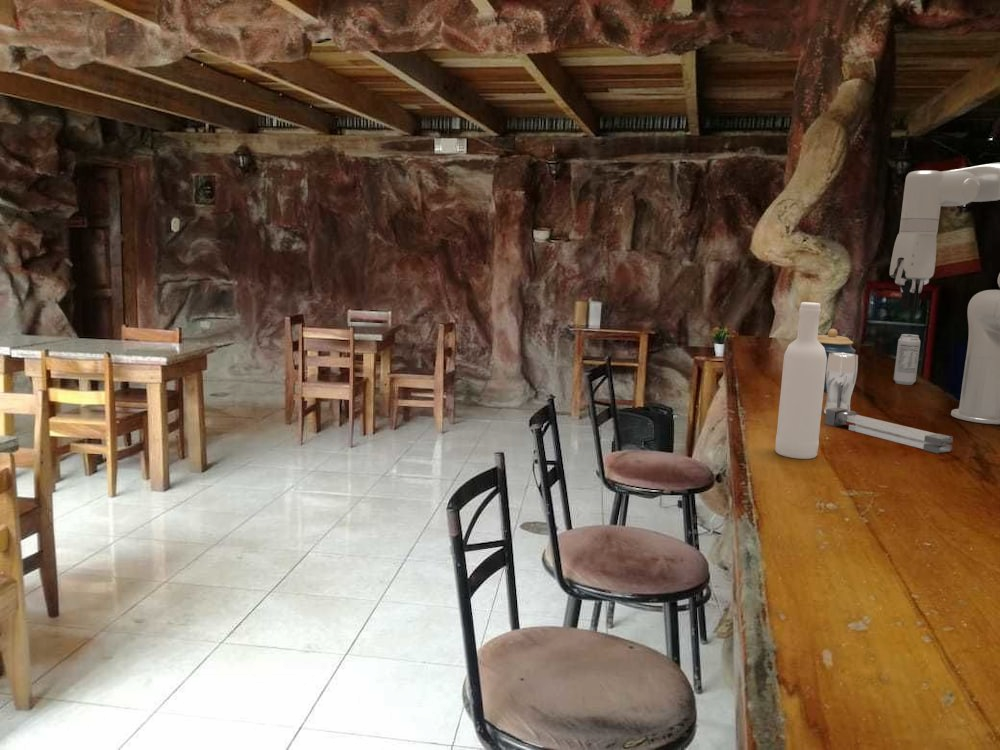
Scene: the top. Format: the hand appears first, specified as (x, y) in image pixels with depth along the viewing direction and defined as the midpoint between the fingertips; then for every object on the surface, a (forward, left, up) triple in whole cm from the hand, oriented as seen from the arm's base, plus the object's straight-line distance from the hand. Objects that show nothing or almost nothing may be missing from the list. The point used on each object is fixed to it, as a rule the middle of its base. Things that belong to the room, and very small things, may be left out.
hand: (908, 310), depth 174 cm
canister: (-25, -38, -27) cm, 53 cm away
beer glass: (+2, -14, -27) cm, 31 cm away
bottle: (+42, +7, -27) cm, 51 cm away
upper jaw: (+12, +7, -26) cm, 29 cm away
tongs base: (+12, +6, -27) cm, 30 cm away
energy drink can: (-57, -35, -27) cm, 72 cm away
